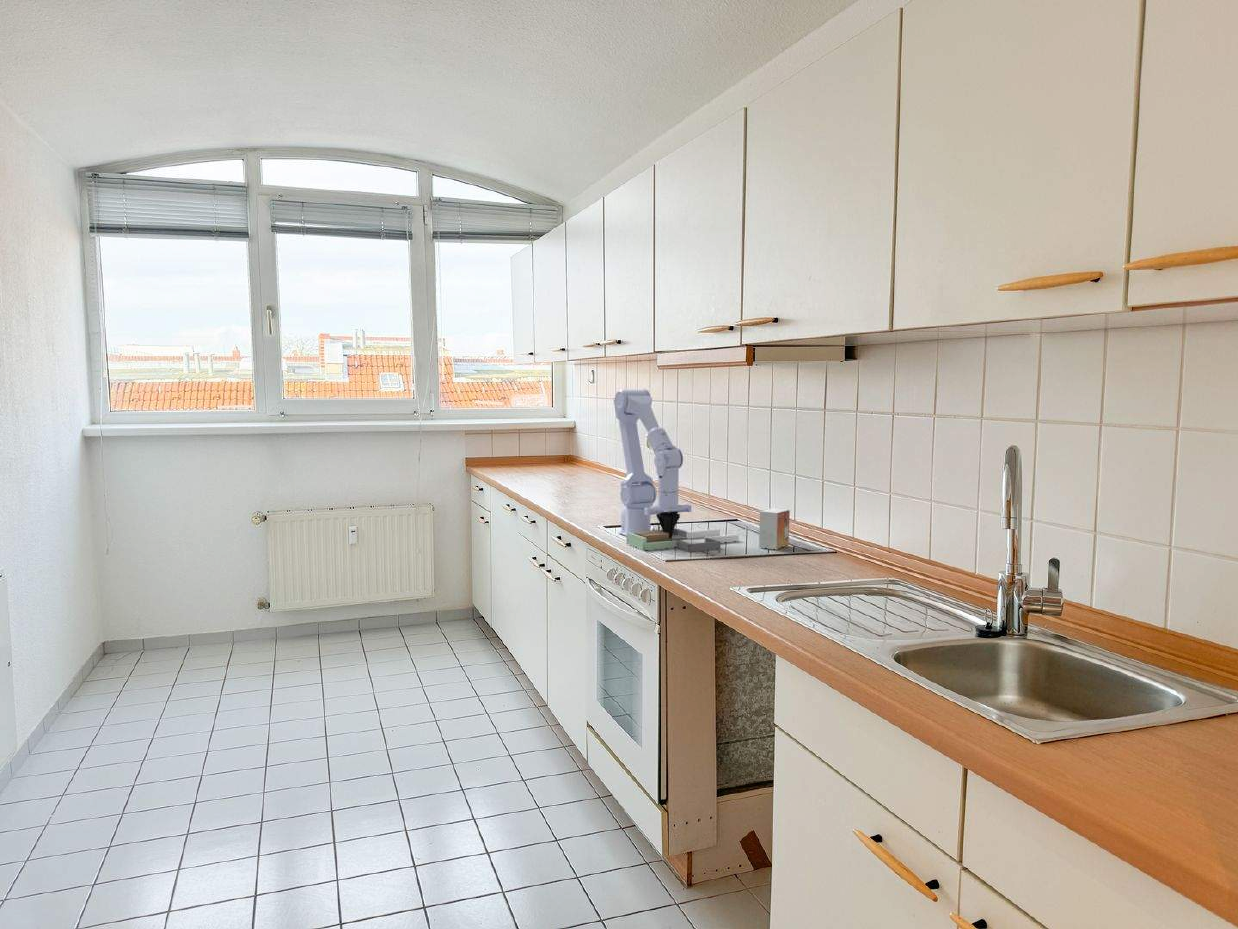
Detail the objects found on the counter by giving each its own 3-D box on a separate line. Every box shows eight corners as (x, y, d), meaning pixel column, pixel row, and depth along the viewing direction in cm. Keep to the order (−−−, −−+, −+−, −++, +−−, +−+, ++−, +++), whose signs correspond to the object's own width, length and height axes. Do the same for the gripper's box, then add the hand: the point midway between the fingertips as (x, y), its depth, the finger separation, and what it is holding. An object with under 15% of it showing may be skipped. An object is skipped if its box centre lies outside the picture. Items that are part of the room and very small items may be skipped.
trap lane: (616, 540, 246) (616, 528, 245) (706, 532, 260) (706, 520, 260) (655, 555, 225) (656, 542, 225) (751, 545, 240) (752, 533, 240)
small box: (776, 550, 233) (777, 513, 232) (758, 548, 236) (759, 511, 235) (789, 546, 239) (790, 509, 238) (771, 543, 242) (772, 507, 241)
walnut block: (633, 546, 239) (633, 532, 239) (658, 543, 243) (658, 530, 242) (644, 550, 234) (644, 535, 233) (668, 547, 237) (669, 533, 237)
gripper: (653, 494, 232) (652, 543, 233) (697, 491, 239) (696, 538, 240) (640, 491, 238) (640, 538, 240) (684, 488, 245) (683, 534, 246)
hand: (667, 538), depth 240 cm, fingers closed
